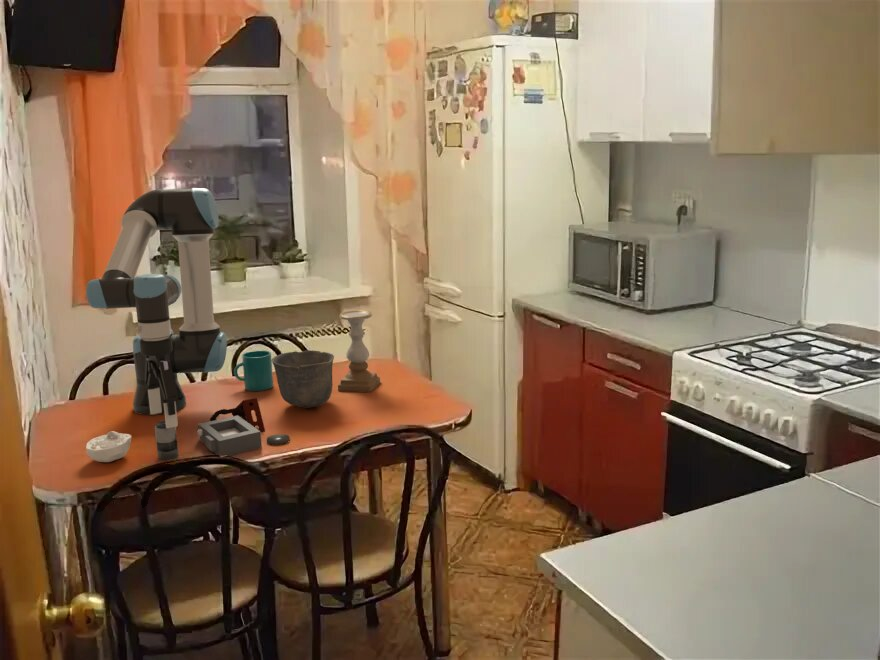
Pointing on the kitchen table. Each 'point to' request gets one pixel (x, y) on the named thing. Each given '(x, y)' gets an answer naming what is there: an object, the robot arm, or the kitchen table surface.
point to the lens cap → (278, 439)
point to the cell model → (108, 446)
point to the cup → (256, 370)
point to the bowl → (304, 377)
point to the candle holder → (357, 356)
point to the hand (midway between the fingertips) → (163, 420)
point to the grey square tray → (229, 436)
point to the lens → (166, 442)
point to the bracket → (244, 412)
